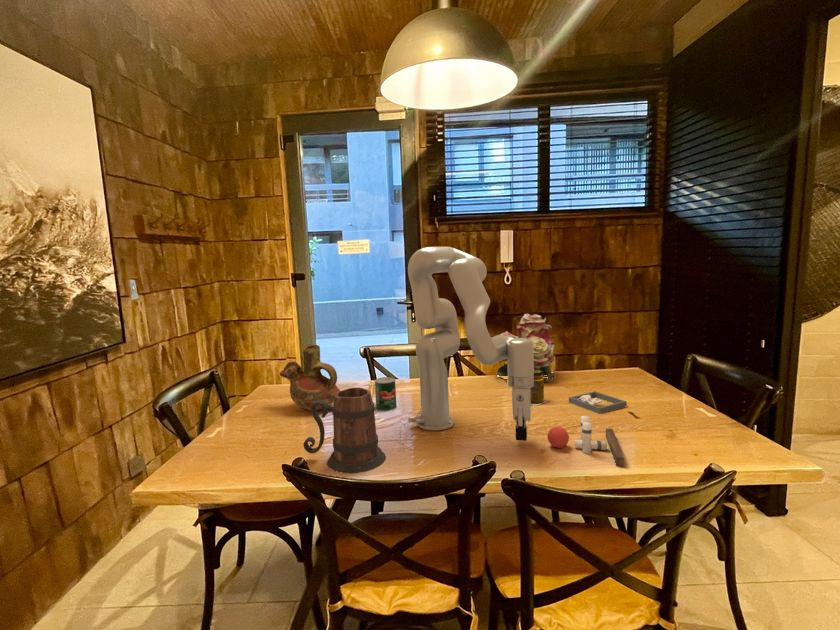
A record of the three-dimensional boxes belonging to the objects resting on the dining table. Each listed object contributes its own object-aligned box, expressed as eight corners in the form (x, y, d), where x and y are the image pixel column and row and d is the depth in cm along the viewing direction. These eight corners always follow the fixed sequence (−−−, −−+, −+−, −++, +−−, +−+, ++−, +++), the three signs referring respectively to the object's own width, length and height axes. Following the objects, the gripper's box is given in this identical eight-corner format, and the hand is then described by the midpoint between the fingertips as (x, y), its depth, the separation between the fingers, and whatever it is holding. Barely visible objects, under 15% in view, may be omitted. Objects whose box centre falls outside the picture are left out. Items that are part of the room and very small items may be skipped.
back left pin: (585, 447, 132) (585, 419, 131) (578, 444, 134) (578, 416, 133) (591, 445, 133) (591, 417, 132) (584, 442, 135) (585, 415, 134)
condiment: (548, 401, 173) (548, 370, 172) (536, 406, 168) (536, 375, 166) (531, 397, 179) (531, 367, 177) (519, 402, 173) (519, 372, 171)
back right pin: (586, 454, 127) (587, 425, 126) (580, 451, 129) (580, 423, 128) (593, 452, 128) (593, 424, 127) (586, 449, 130) (586, 421, 129)
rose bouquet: (485, 377, 210) (483, 313, 206) (537, 369, 221) (537, 308, 217) (516, 391, 186) (515, 320, 182) (573, 382, 197) (573, 314, 193)
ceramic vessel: (293, 400, 187) (288, 340, 184) (351, 402, 181) (348, 341, 177) (270, 414, 171) (264, 349, 167) (334, 418, 164) (329, 350, 161)
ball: (568, 440, 127) (549, 448, 129) (574, 445, 132) (555, 452, 134) (560, 421, 131) (541, 429, 133) (566, 426, 135) (548, 433, 137)
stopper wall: (616, 466, 120) (616, 457, 119) (605, 436, 139) (605, 428, 139) (624, 466, 119) (624, 457, 119) (612, 436, 138) (612, 428, 138)
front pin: (575, 446, 130) (607, 448, 128) (575, 438, 131) (606, 439, 129) (575, 449, 132) (606, 451, 130) (574, 441, 133) (605, 443, 131)
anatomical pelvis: (604, 396, 165) (591, 398, 162) (603, 407, 165) (590, 409, 162) (586, 390, 172) (574, 392, 169) (585, 401, 172) (573, 403, 169)
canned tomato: (387, 412, 168) (385, 383, 166) (371, 408, 172) (370, 381, 171) (400, 406, 174) (399, 378, 172) (385, 403, 179) (384, 376, 177)
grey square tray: (599, 413, 158) (599, 408, 157) (568, 402, 171) (568, 397, 170) (626, 406, 164) (626, 401, 163) (594, 396, 177) (594, 391, 176)
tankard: (389, 446, 138) (386, 383, 135) (381, 473, 121) (377, 401, 118) (314, 447, 139) (309, 384, 137) (296, 474, 123) (290, 403, 120)
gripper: (533, 388, 125) (533, 451, 127) (534, 373, 139) (534, 430, 142) (506, 387, 127) (506, 449, 129) (509, 373, 141) (510, 429, 144)
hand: (521, 439), depth 136 cm, fingers closed
